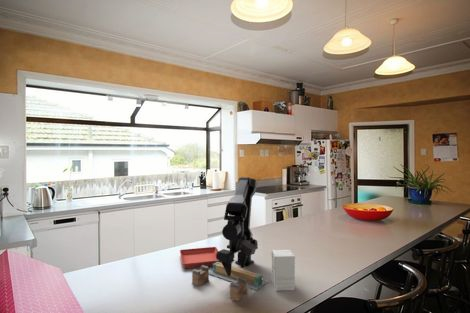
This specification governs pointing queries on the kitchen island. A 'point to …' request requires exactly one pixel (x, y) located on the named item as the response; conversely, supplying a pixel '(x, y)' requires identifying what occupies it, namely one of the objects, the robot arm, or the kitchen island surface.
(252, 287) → the mat
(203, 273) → the post
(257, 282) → the rail
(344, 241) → the kitchen island surface
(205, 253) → the plant saucer
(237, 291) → the post
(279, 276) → the supplement box
